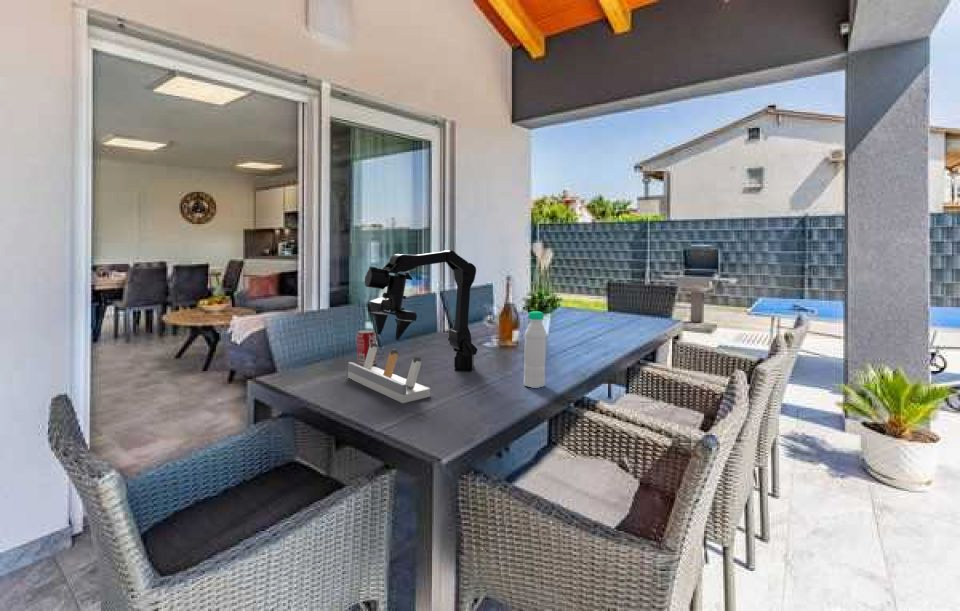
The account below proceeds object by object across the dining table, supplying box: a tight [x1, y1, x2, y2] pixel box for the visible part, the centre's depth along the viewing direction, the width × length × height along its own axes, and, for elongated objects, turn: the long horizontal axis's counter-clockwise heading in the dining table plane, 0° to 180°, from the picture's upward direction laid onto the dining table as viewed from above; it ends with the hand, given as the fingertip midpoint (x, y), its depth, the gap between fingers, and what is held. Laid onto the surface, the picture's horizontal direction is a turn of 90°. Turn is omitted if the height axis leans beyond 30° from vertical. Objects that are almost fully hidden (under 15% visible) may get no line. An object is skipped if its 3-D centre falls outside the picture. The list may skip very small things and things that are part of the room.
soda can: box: [356, 329, 377, 367], centre depth 187 cm, size 7×7×13 cm
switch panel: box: [347, 361, 431, 404], centre depth 160 cm, size 10×34×6 cm, turn 42°
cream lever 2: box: [405, 356, 422, 390], centre depth 151 cm, size 2×3×10 cm
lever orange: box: [383, 348, 399, 378], centre depth 160 cm, size 2×3×10 cm
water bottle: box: [523, 310, 547, 387], centre depth 161 cm, size 7×7×25 cm
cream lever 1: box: [362, 342, 378, 370], centre depth 170 cm, size 2×3×10 cm
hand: (387, 337), depth 165 cm, fingers open, 9 cm apart
